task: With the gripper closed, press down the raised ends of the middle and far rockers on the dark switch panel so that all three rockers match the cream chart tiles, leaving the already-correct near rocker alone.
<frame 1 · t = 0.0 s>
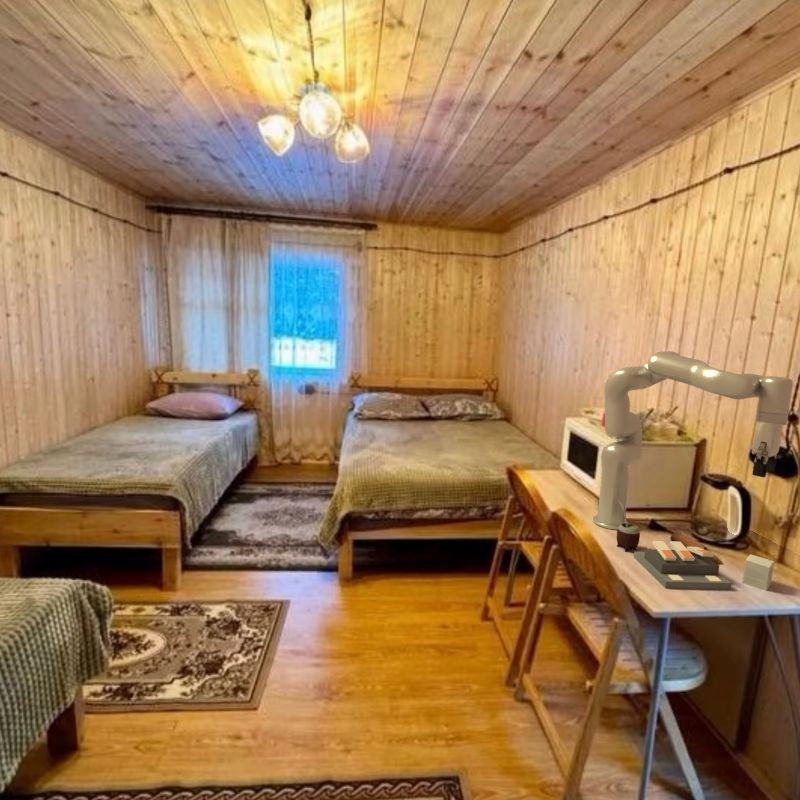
hand: (763, 473, 151), 31 cm above the table, tool pointing down, fingers open, 9 cm apart
rocker middle: (681, 552, 151), point 7 cm above the table, hinge at 12.0°
sunglasses case: (696, 554, 167), on the table
rocker near: (663, 551, 151), point 7 cm above the table, hinge at 12.0°
mate gourd: (625, 548, 169), on the table
rocker far: (699, 552, 151), point 7 cm above the table, hinge at -12.0°
product box: (756, 584, 147), on the table
switch panel: (679, 572, 152), on the table
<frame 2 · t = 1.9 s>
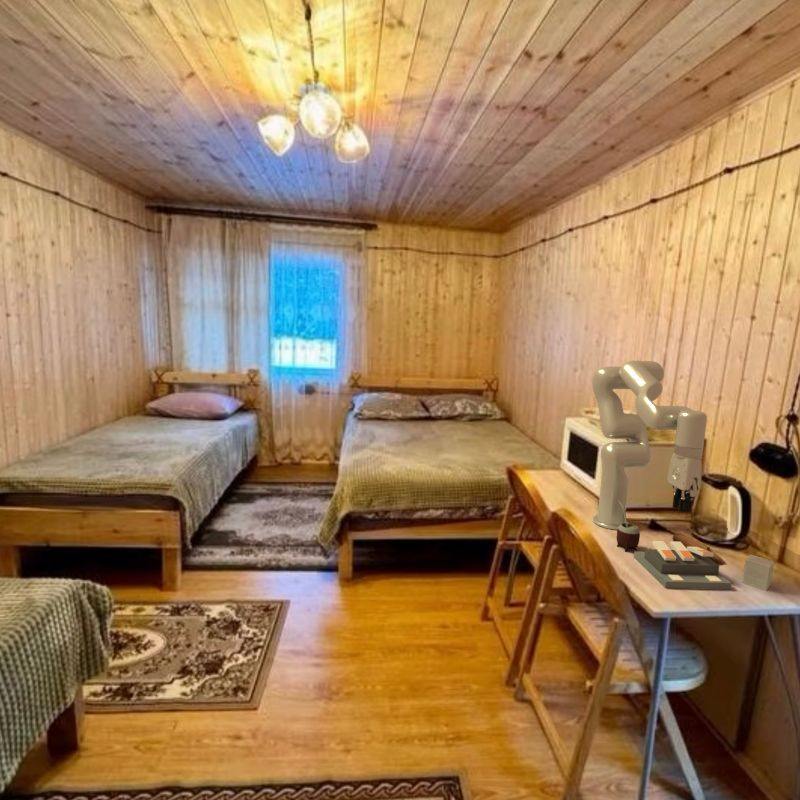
hand: (680, 509, 152), 19 cm above the table, tool pointing down, fingers closed
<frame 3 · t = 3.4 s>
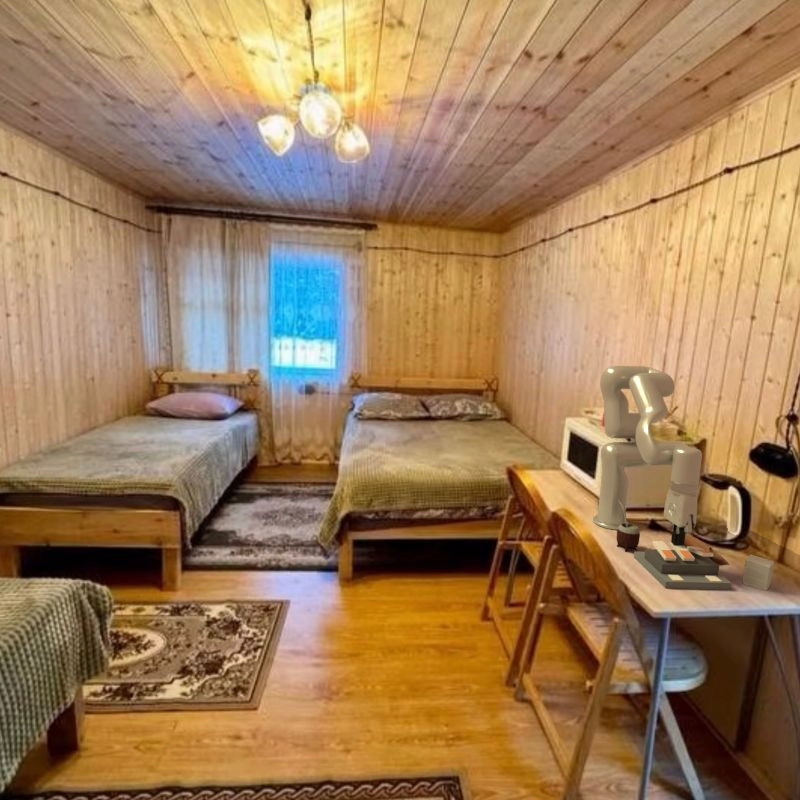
hand: (677, 544, 154), 8 cm above the table, tool pointing down, fingers closed
rocker middle: (681, 552, 151), point 7 cm above the table, hinge at 12.0°, touching gripper
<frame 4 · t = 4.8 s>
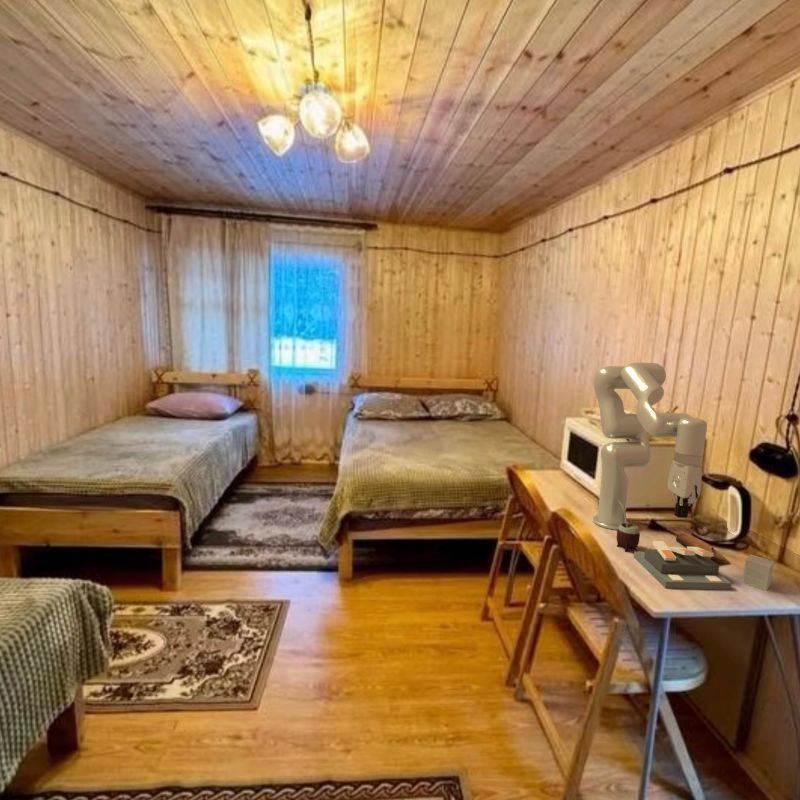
hand: (680, 516, 153), 17 cm above the table, tool pointing down, fingers closed
rocker middle: (681, 552, 151), point 7 cm above the table, hinge at -15.5°
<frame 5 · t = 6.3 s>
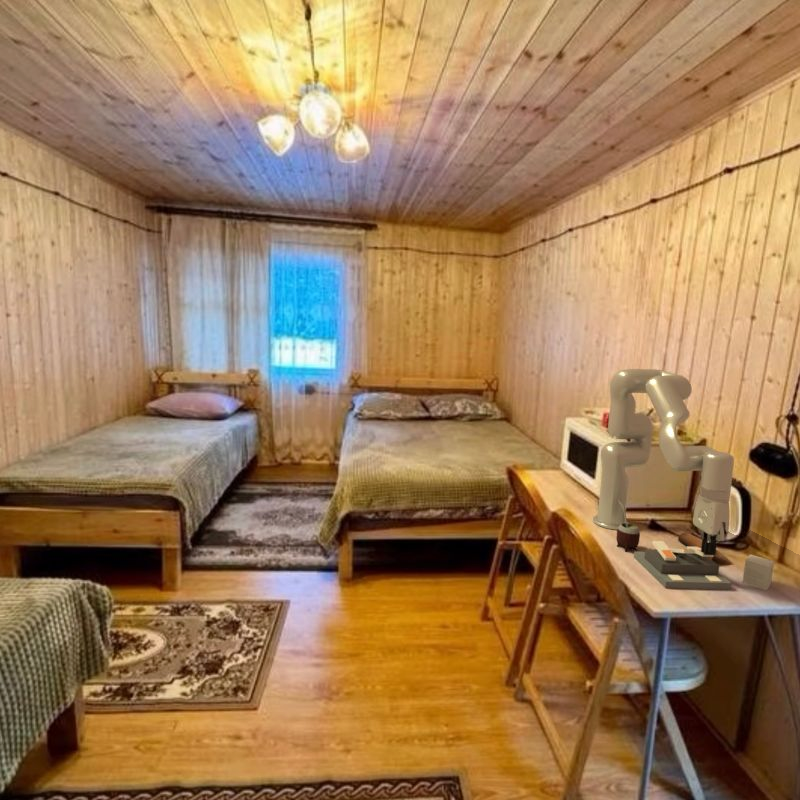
hand: (708, 553, 147), 8 cm above the table, tool pointing down, fingers closed
rocker middle: (682, 552, 151), point 7 cm above the table, hinge at -23.1°, touching switch panel
rocker far: (699, 552, 151), point 7 cm above the table, hinge at -11.6°, touching gripper
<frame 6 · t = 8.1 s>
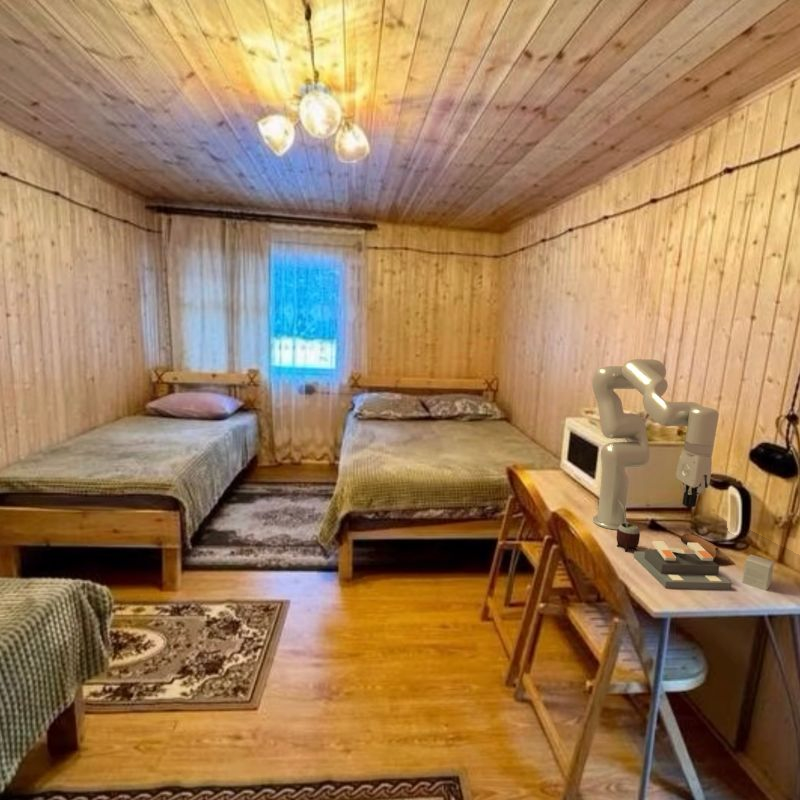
hand: (688, 505, 153), 20 cm above the table, tool pointing down, fingers closed
rocker middle: (682, 552, 151), point 7 cm above the table, hinge at -20.8°
rocker far: (699, 552, 151), point 7 cm above the table, hinge at 8.1°
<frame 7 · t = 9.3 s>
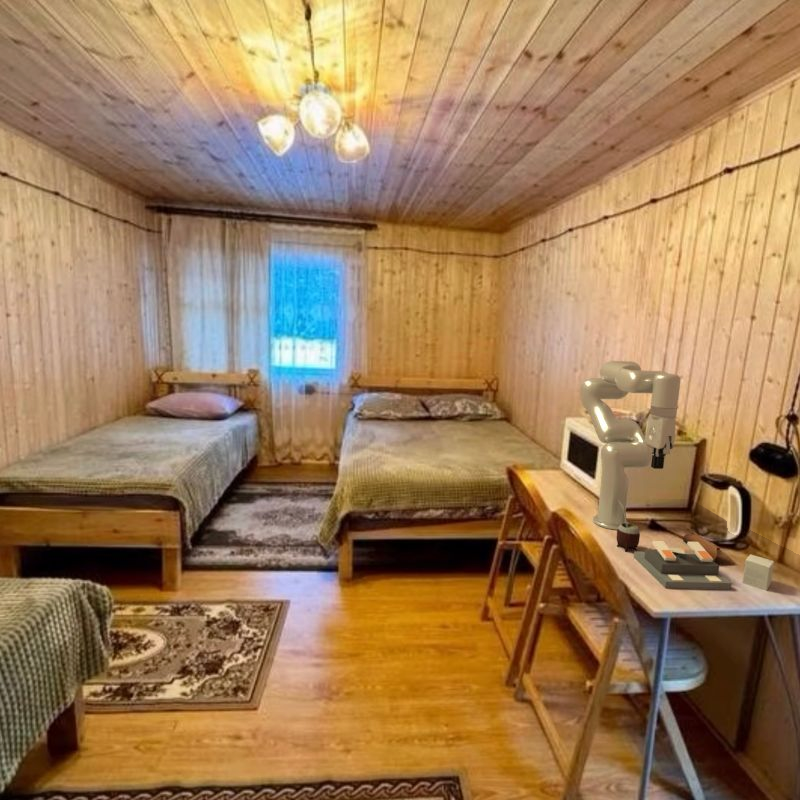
hand: (656, 467, 161), 29 cm above the table, tool pointing down, fingers closed
rocker middle: (682, 552, 151), point 7 cm above the table, hinge at -20.2°
rocker far: (699, 552, 151), point 7 cm above the table, hinge at 13.3°
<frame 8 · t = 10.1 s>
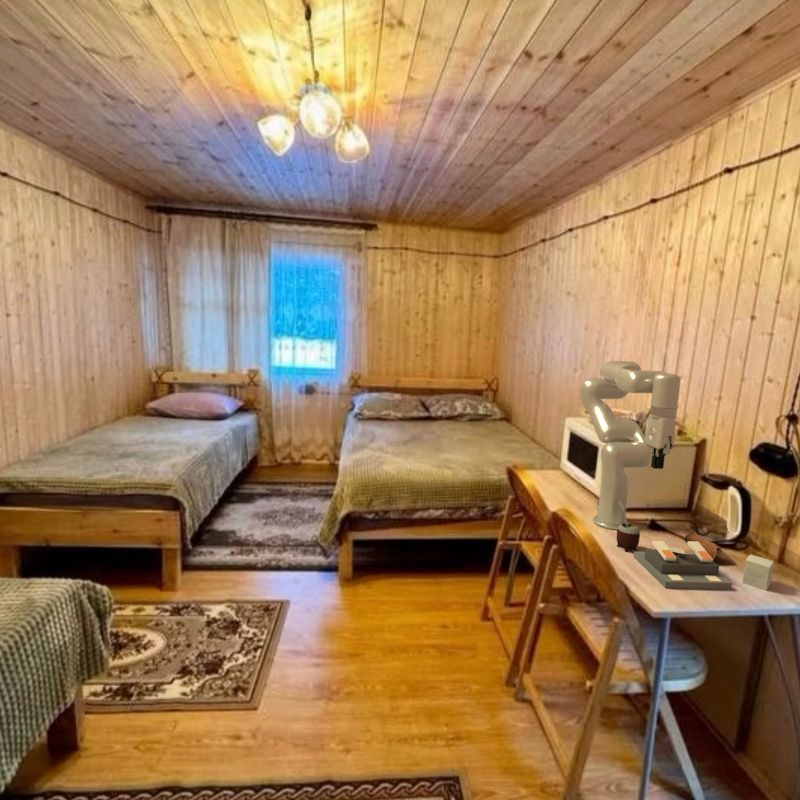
hand: (656, 467, 161), 29 cm above the table, tool pointing down, fingers closed
rocker far: (699, 552, 151), point 7 cm above the table, hinge at 15.1°
at the end: rocker near at +12° (first picture: +12°); rocker middle at -20° (first picture: +12°); rocker far at +15° (first picture: -12°) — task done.
